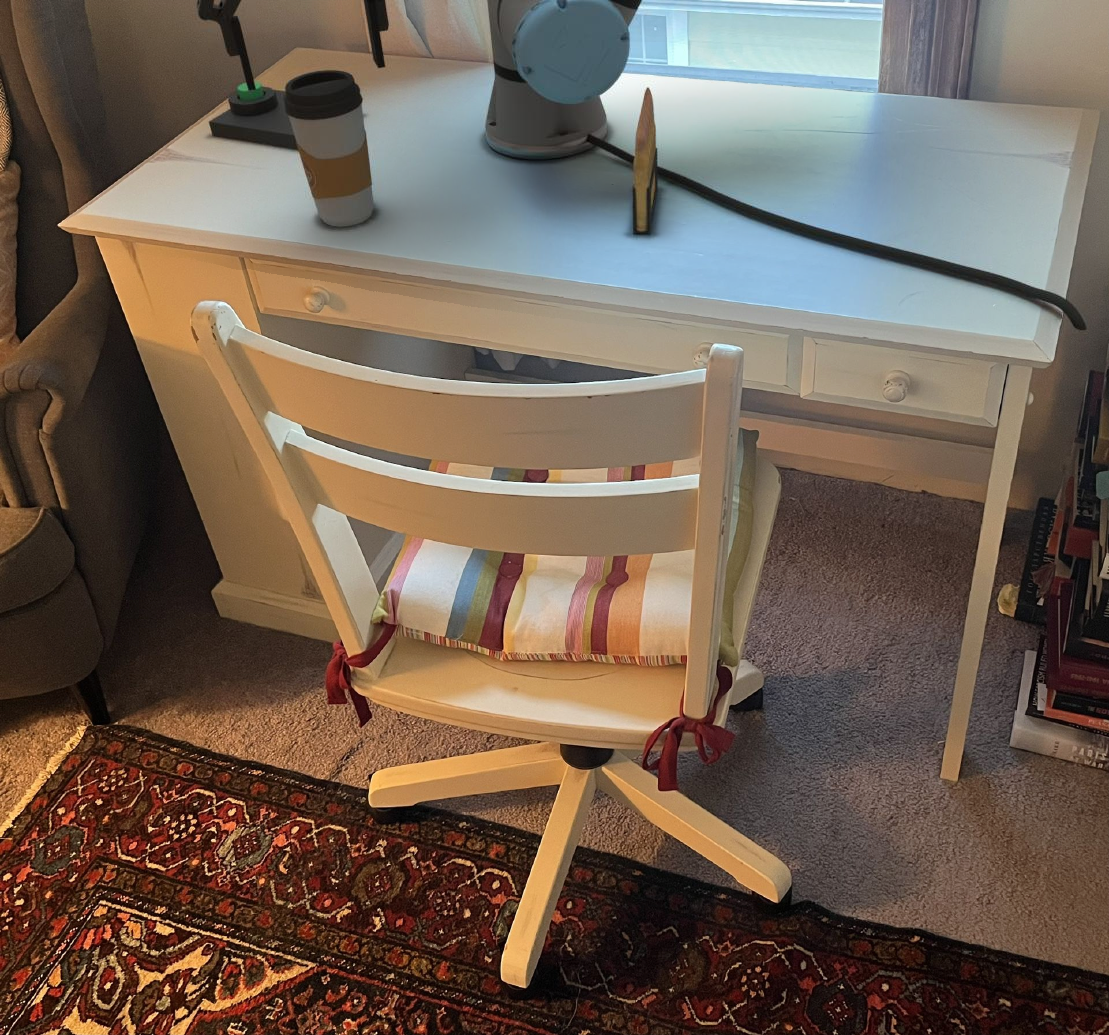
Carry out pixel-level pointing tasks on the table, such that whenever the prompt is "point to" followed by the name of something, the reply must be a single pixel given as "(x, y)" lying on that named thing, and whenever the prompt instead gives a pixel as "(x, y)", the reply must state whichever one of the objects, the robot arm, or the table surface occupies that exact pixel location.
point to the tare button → (250, 92)
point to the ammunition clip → (645, 168)
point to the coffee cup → (332, 144)
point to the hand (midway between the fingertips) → (316, 75)
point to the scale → (256, 120)
